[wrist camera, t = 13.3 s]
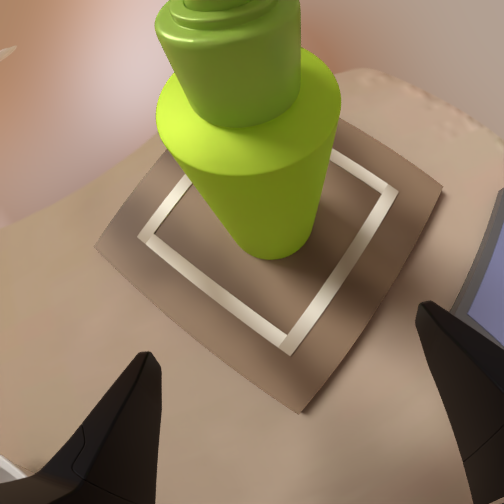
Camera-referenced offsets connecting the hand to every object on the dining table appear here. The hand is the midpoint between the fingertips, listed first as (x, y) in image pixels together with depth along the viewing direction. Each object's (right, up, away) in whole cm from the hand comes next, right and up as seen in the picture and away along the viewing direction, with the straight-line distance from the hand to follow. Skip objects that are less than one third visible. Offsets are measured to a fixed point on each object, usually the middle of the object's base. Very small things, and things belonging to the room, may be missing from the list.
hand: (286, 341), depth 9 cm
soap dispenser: (+1, +5, +12) cm, 13 cm away
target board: (0, +5, +13) cm, 14 cm away
